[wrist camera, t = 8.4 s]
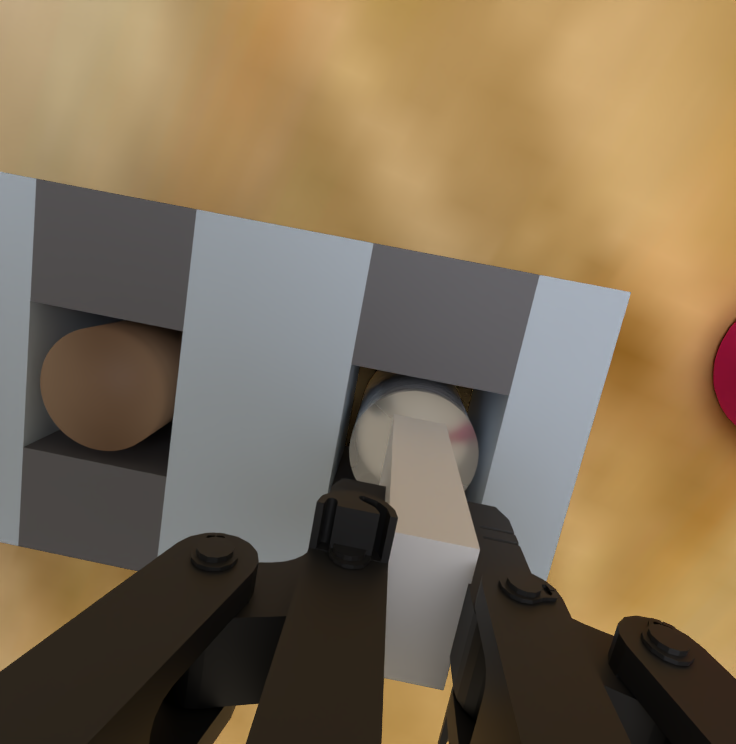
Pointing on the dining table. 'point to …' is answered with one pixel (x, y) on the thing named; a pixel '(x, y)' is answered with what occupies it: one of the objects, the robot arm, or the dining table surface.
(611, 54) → the dining table surface
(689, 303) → the dining table surface
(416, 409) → the grey metal peg
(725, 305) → the dining table surface
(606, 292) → the socket block
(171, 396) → the walnut peg
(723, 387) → the pepper mill
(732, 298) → the dining table surface
